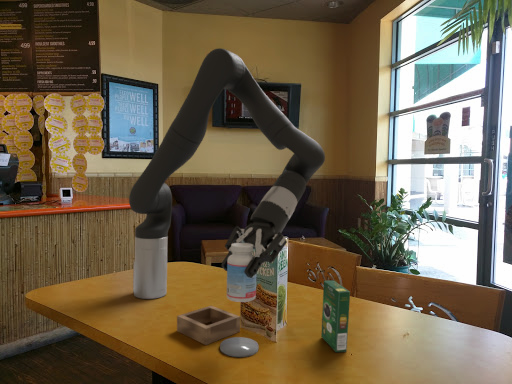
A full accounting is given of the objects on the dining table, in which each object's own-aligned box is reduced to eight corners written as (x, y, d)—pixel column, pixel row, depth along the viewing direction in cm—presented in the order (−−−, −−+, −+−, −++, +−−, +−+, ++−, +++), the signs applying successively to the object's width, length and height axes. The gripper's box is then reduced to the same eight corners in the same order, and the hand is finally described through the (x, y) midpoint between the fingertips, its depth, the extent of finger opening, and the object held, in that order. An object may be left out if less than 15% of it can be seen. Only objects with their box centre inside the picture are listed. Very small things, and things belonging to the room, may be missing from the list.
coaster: (212, 347, 81) (212, 345, 81) (239, 336, 86) (239, 334, 86) (239, 361, 75) (239, 358, 75) (266, 348, 81) (266, 345, 81)
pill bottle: (252, 304, 77) (253, 248, 76) (222, 301, 78) (224, 246, 78) (258, 295, 83) (259, 243, 82) (230, 292, 84) (231, 241, 83)
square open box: (176, 330, 89) (177, 315, 88) (210, 319, 96) (211, 305, 96) (205, 345, 82) (206, 328, 82) (239, 331, 89) (240, 316, 89)
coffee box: (348, 352, 80) (351, 290, 80) (335, 353, 80) (338, 290, 79) (332, 336, 88) (334, 279, 88) (320, 337, 87) (322, 280, 87)
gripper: (243, 197, 90) (203, 255, 82) (293, 201, 80) (253, 268, 72) (258, 218, 94) (221, 275, 86) (307, 225, 84) (270, 290, 76)
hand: (236, 271), depth 79 cm, fingers closed on pill bottle, 6 cm apart
